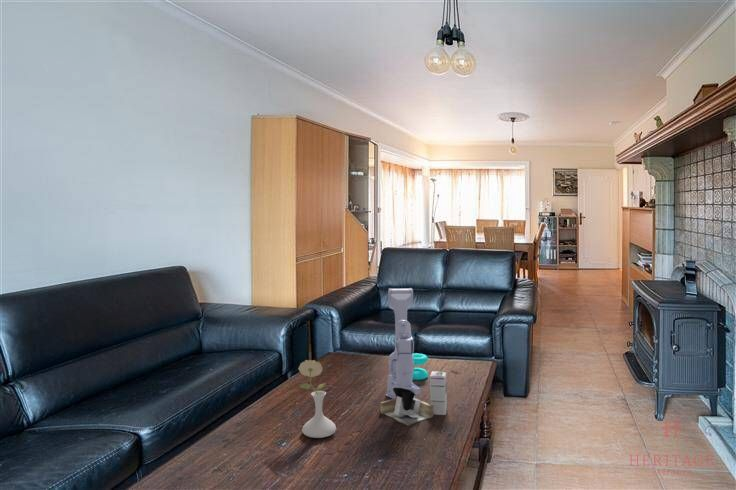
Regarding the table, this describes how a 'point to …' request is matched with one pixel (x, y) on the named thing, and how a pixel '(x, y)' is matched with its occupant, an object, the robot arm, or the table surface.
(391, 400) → the arena
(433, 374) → the syrup box
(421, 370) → the donuts
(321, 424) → the flower in vase
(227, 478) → the table surface
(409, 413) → the bracket
